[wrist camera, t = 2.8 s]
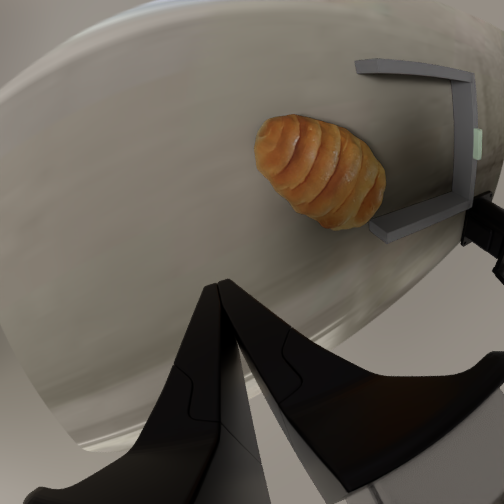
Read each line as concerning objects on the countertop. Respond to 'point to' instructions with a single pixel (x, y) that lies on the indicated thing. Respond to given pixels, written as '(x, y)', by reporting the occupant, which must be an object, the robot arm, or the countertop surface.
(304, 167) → the pastry
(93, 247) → the countertop surface
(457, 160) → the dock
